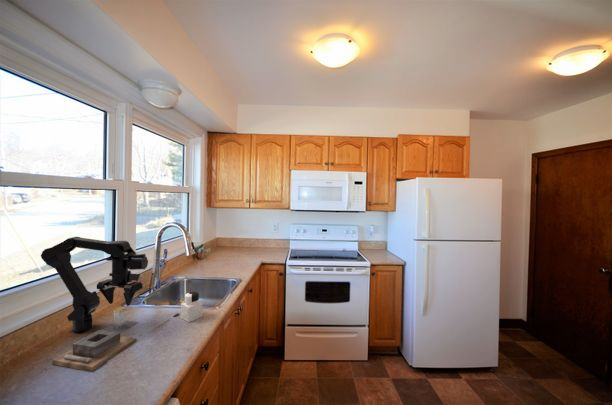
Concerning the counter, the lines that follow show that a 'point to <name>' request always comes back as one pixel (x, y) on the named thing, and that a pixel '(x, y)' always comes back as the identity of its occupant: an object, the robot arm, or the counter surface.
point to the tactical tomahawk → (165, 322)
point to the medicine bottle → (191, 307)
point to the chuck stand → (94, 350)
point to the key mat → (128, 325)
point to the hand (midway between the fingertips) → (119, 304)
